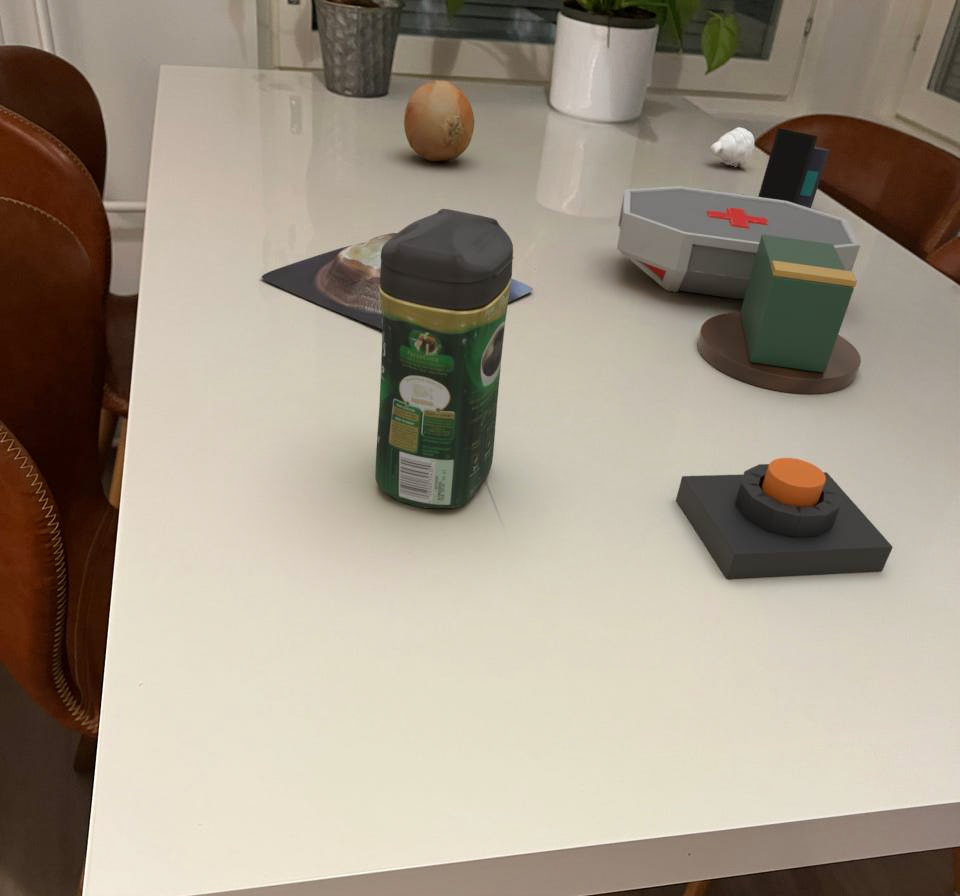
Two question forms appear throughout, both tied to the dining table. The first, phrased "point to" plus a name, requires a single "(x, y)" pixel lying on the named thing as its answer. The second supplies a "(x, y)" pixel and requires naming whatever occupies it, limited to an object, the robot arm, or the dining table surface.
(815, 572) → the button block
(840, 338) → the turntable base
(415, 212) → the dining table surface
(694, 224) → the first aid kit
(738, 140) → the garlic bulb
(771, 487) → the button
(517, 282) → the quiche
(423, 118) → the onion
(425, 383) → the coffee jar
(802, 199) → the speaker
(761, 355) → the box
